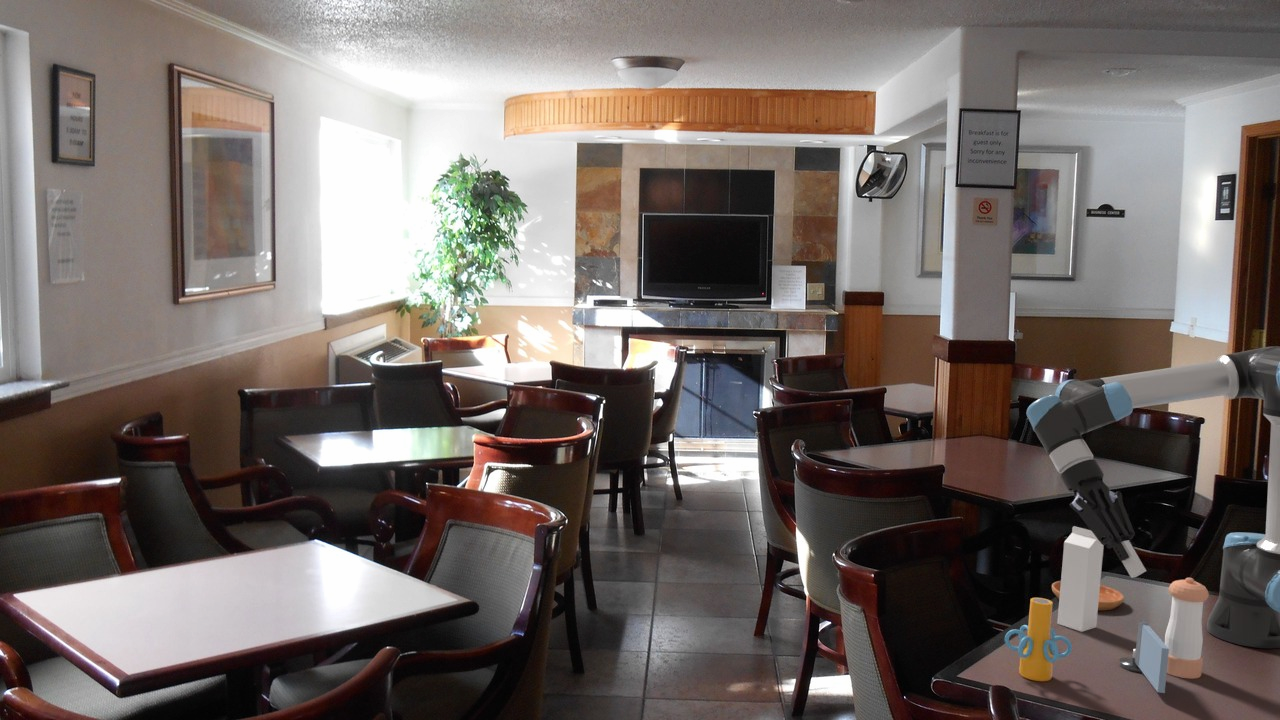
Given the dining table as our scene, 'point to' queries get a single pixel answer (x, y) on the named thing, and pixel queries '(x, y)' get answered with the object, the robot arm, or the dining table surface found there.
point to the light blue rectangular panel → (1151, 656)
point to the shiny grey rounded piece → (1130, 663)
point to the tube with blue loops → (1038, 642)
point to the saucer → (1106, 596)
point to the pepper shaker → (1185, 629)
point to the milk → (1080, 580)
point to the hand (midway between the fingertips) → (1138, 574)
